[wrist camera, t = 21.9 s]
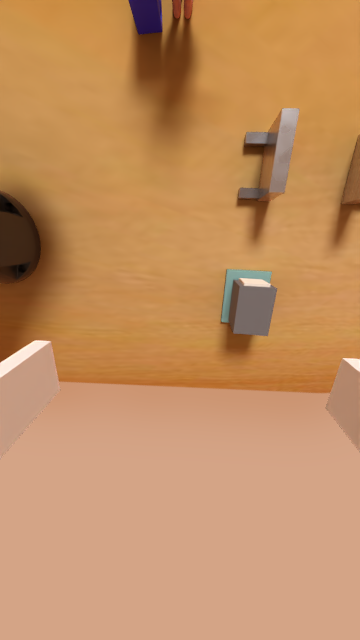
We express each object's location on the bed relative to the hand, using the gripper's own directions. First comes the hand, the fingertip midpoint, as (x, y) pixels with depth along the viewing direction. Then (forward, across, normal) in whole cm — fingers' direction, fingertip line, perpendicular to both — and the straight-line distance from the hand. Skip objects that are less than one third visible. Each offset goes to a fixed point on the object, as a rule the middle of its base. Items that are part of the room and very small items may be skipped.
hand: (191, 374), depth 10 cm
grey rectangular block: (+27, +9, -4) cm, 29 cm away
